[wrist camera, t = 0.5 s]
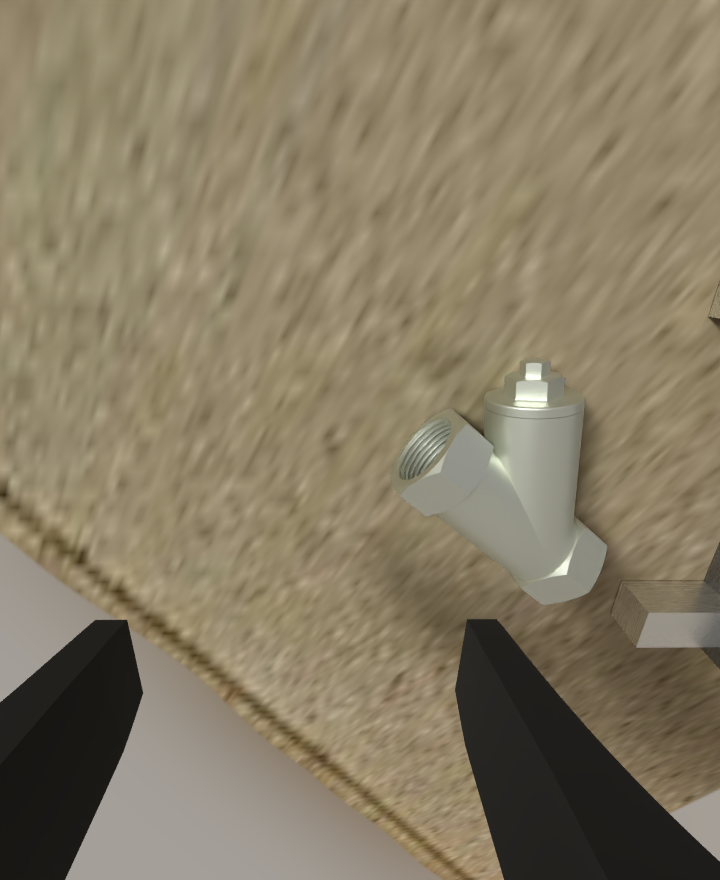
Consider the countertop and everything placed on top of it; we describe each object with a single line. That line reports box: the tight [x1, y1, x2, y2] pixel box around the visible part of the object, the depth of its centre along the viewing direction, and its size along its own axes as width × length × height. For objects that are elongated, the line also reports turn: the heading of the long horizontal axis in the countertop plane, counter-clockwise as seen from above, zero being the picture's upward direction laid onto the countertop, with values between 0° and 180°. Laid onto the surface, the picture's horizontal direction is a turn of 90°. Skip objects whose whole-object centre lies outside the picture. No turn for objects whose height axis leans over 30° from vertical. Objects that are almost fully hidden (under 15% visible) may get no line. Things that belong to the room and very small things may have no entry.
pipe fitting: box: [391, 358, 608, 605], centre depth 17 cm, size 8×4×7 cm
